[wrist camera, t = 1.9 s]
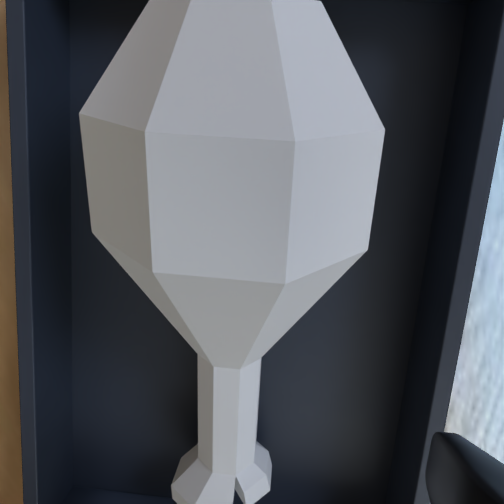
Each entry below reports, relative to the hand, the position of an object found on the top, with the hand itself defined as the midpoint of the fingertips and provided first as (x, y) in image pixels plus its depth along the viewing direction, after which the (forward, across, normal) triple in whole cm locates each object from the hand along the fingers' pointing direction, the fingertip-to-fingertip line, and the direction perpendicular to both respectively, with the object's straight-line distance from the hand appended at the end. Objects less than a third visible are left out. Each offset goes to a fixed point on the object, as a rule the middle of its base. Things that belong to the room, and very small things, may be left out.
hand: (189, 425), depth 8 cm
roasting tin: (+10, 0, 0) cm, 10 cm away
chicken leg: (+10, 0, 0) cm, 10 cm away
